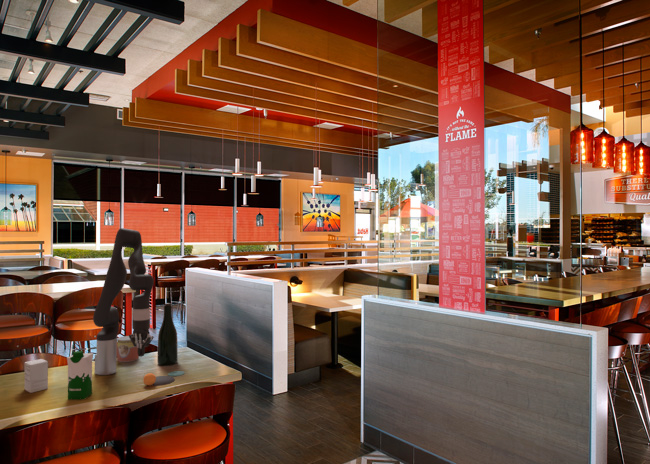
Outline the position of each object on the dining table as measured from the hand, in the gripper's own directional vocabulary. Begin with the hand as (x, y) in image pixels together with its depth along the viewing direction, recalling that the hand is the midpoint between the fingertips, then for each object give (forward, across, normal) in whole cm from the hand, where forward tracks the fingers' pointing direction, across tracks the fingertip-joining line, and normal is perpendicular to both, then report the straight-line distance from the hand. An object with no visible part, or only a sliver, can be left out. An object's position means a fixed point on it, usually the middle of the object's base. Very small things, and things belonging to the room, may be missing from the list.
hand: (141, 355), depth 208 cm
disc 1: (+15, 0, -12) cm, 19 cm away
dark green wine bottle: (+15, +17, -37) cm, 43 cm away
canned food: (+15, +43, -35) cm, 58 cm away
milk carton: (+15, +17, +18) cm, 29 cm away
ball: (+12, 0, -5) cm, 13 cm away
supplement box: (+15, +43, +19) cm, 50 cm away
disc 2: (+15, 0, -24) cm, 28 cm away
